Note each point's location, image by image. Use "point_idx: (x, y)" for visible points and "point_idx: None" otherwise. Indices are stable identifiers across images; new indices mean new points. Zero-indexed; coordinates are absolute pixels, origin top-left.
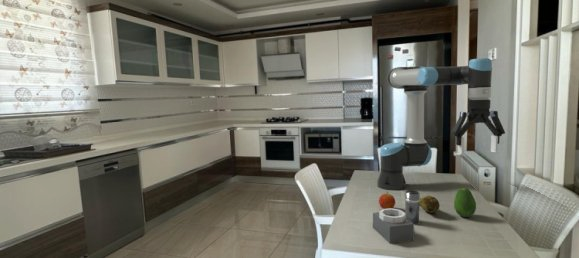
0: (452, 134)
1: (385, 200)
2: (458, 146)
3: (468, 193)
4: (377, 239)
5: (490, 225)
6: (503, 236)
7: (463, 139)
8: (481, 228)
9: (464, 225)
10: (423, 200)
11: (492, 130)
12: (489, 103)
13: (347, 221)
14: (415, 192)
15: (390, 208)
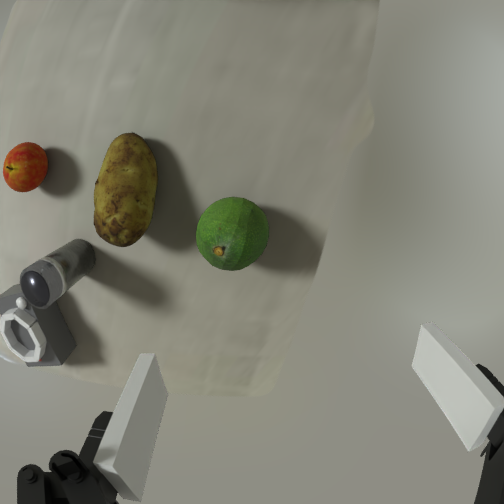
0: (34, 482)
1: (13, 189)
2: (126, 397)
3: (233, 267)
4: None
5: (273, 287)
6: (265, 343)
7: (140, 487)
8: (239, 304)
9: (203, 285)
10: (94, 222)
11: (488, 481)
12: None
13: None
14: (41, 295)
15: (12, 314)
